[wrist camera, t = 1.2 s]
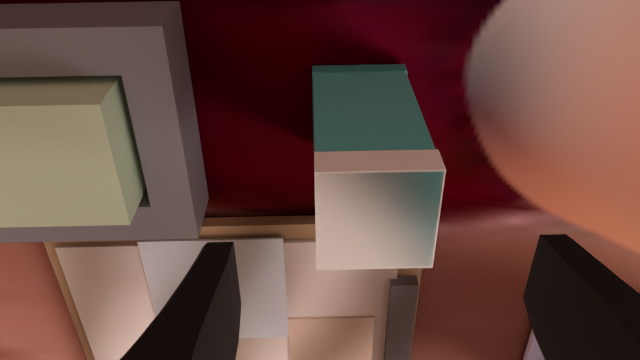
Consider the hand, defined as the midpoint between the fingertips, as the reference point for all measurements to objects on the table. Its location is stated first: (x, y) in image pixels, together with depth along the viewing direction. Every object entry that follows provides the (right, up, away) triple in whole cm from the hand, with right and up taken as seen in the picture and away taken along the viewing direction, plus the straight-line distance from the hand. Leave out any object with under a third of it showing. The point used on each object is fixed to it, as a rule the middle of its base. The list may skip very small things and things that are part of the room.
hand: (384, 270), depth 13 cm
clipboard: (-5, -4, +13) cm, 15 cm away
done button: (-10, +4, +6) cm, 12 cm away
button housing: (-10, +5, +7) cm, 13 cm away
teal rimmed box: (0, +5, +7) cm, 9 cm away
